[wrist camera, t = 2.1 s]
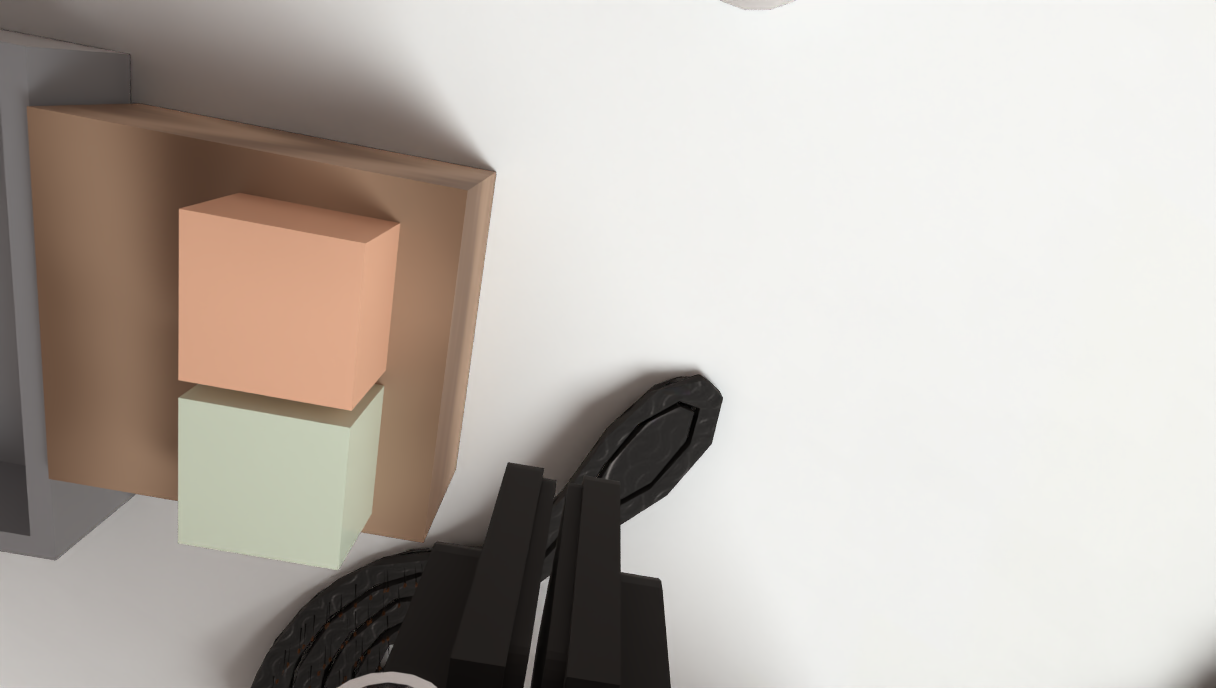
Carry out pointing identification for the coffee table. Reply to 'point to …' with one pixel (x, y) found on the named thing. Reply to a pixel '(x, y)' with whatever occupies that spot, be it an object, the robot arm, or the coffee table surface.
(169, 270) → the brown square platform
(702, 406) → the hairbrush
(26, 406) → the box
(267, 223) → the peach cube block
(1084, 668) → the coffee table surface
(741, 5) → the chalice
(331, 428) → the pale green cube
